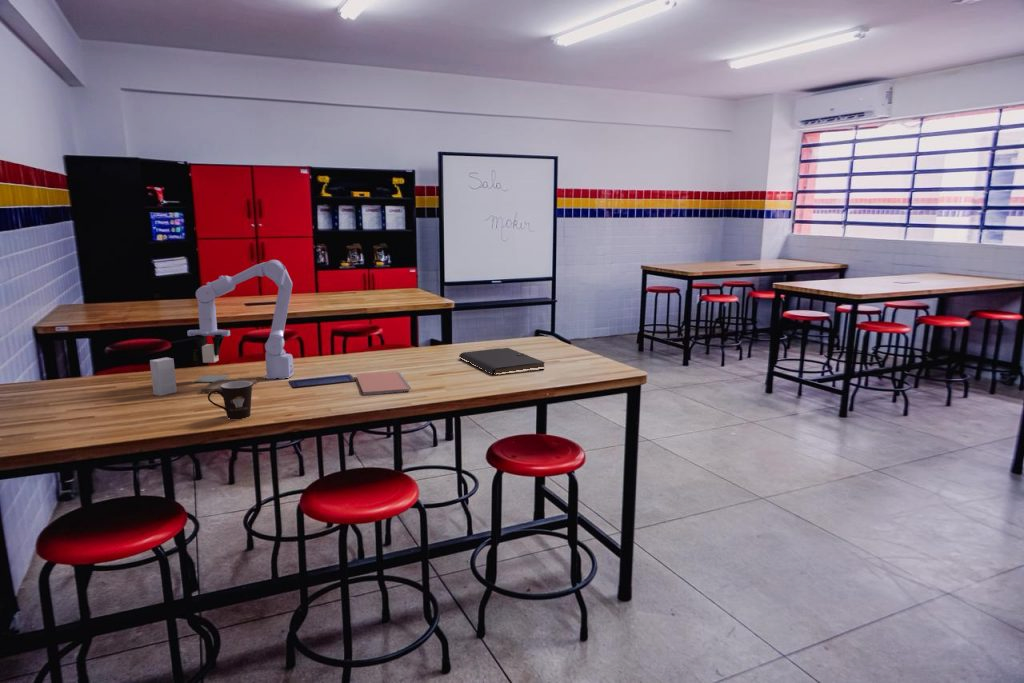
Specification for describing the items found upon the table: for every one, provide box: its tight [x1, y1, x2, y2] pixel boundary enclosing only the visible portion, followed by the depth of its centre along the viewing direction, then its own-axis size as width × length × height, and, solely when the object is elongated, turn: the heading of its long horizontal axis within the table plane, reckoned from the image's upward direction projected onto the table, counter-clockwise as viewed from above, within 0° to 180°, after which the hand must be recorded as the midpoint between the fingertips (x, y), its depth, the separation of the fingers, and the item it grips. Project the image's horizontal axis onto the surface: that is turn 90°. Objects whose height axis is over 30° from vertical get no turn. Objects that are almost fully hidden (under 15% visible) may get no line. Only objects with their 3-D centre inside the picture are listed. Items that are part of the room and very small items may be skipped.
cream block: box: [201, 343, 220, 364], centre depth 230 cm, size 4×4×6 cm
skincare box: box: [149, 356, 178, 397], centre depth 212 cm, size 6×4×12 cm
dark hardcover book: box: [458, 347, 545, 375], centre depth 263 cm, size 33×4×24 cm
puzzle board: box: [201, 379, 257, 393], centre depth 220 cm, size 14×13×2 cm
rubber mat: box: [194, 375, 230, 383], centre depth 232 cm, size 9×9×1 cm
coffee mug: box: [207, 381, 253, 420], centre depth 188 cm, size 12×9×10 cm
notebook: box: [355, 370, 412, 396], centre depth 229 cm, size 27×17×2 cm, turn 19°
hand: (210, 355), depth 230 cm, fingers closed on cream block, 4 cm apart
